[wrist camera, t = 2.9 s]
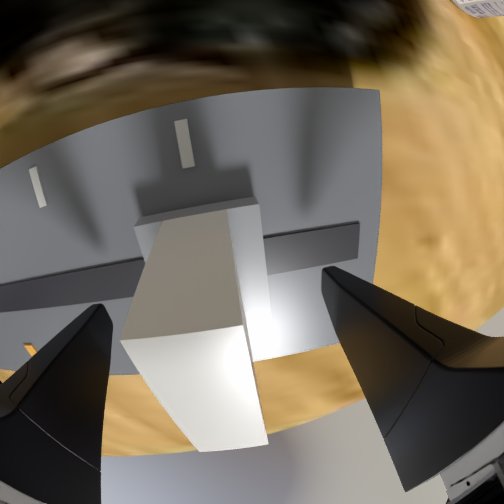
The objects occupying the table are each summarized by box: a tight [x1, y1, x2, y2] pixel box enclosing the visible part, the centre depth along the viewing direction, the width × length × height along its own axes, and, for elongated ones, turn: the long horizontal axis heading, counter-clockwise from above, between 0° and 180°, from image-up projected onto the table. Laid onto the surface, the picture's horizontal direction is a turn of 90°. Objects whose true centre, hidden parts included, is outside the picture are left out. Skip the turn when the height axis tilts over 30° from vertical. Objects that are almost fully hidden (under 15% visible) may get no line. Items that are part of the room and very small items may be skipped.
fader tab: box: [120, 196, 272, 452], centre depth 8 cm, size 4×5×6 cm
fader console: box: [0, 87, 382, 375], centre depth 11 cm, size 26×12×2 cm, turn 97°
